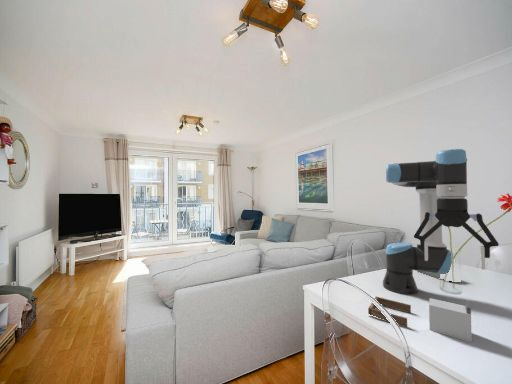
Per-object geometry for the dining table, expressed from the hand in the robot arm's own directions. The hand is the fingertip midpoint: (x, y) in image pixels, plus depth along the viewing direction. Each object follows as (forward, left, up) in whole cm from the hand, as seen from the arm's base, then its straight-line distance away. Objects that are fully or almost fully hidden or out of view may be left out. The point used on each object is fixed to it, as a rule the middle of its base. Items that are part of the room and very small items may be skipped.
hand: (452, 263), depth 73 cm
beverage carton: (-78, -5, -27) cm, 83 cm away
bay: (-10, -19, -26) cm, 34 cm away
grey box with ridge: (-10, -1, -27) cm, 28 cm away
